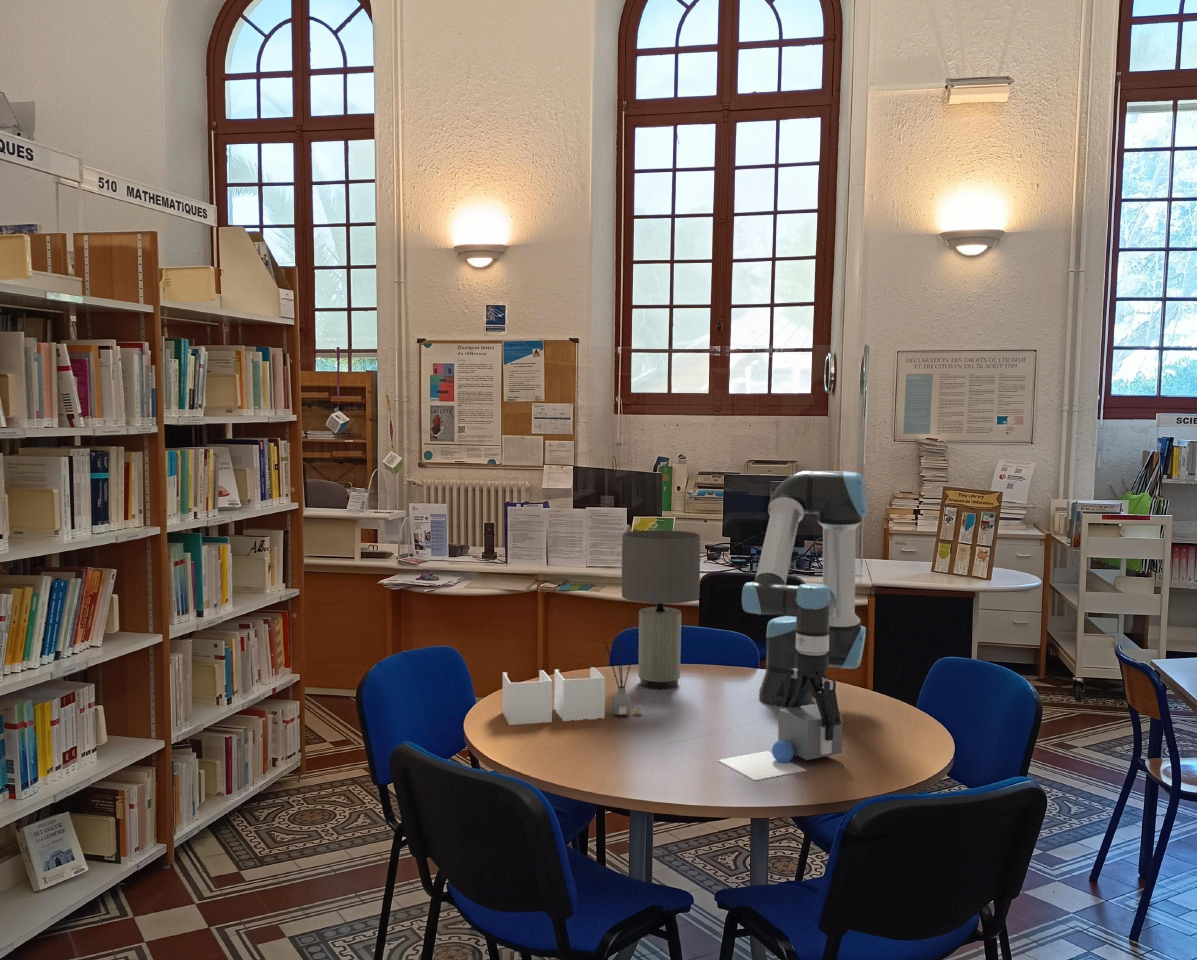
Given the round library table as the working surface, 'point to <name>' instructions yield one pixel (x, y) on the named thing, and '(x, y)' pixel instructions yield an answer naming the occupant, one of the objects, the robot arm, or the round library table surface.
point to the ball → (783, 751)
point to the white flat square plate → (760, 766)
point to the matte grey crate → (806, 731)
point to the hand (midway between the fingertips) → (809, 746)
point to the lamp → (660, 596)
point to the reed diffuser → (622, 691)
